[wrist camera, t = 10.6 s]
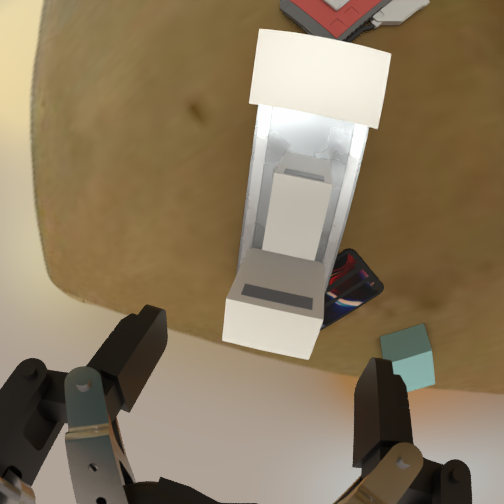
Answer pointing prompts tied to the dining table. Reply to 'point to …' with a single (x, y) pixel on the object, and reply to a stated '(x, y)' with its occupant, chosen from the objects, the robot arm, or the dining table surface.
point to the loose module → (298, 205)
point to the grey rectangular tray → (311, 144)
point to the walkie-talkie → (347, 15)
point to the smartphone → (348, 287)
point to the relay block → (410, 356)
